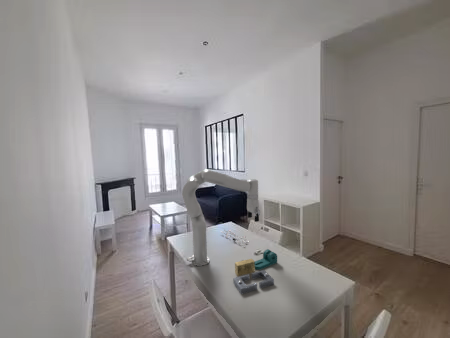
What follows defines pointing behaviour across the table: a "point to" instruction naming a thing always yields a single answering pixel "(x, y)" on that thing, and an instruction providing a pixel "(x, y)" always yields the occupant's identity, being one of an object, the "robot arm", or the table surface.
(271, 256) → the bracket
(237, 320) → the table surface
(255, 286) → the grey pocketed fixture tray
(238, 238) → the miniature set
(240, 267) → the yellow rectangular block
